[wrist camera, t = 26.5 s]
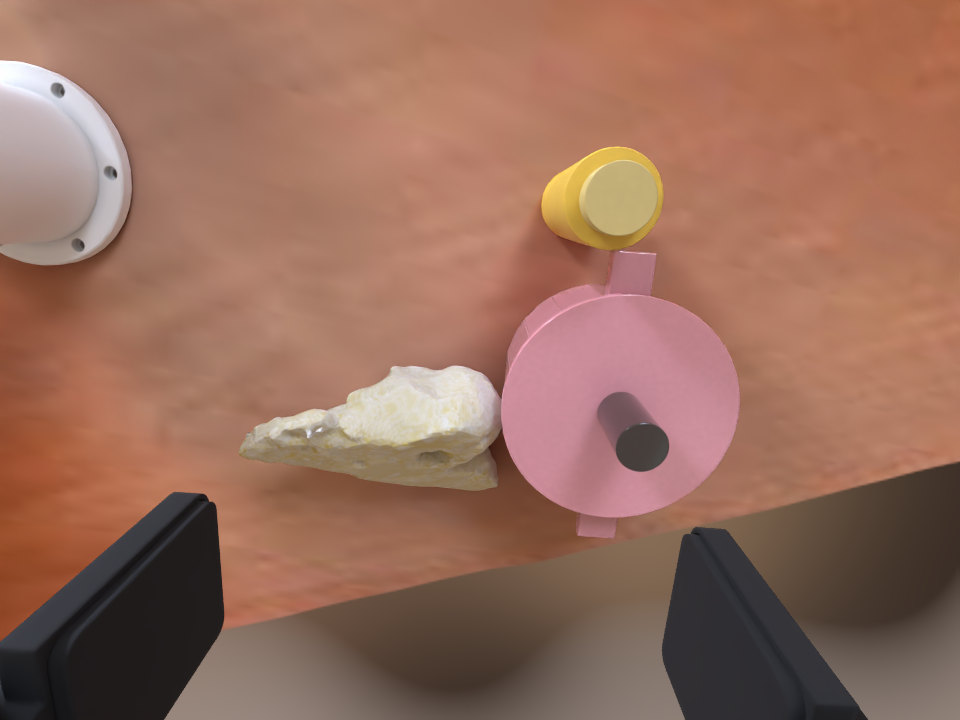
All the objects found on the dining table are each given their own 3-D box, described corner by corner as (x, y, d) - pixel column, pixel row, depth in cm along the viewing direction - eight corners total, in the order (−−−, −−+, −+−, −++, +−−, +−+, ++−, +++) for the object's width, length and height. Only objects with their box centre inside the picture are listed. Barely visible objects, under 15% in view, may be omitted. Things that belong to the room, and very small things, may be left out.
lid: (492, 500, 33) (493, 559, 28) (509, 283, 30) (514, 299, 24) (709, 515, 33) (754, 577, 28) (752, 299, 30) (814, 319, 24)
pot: (496, 477, 41) (498, 537, 33) (515, 238, 36) (522, 245, 29) (659, 488, 41) (698, 551, 33) (699, 251, 36) (755, 260, 29)
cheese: (543, 386, 41) (433, 283, 30) (554, 478, 38) (432, 400, 26) (386, 431, 48) (246, 361, 36) (382, 514, 44) (224, 464, 32)
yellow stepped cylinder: (538, 237, 36) (563, 248, 24) (544, 166, 35) (574, 138, 23) (605, 241, 36) (665, 255, 24) (614, 170, 35) (682, 145, 23)
